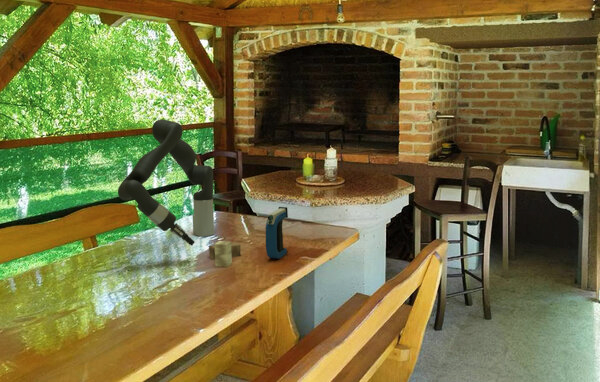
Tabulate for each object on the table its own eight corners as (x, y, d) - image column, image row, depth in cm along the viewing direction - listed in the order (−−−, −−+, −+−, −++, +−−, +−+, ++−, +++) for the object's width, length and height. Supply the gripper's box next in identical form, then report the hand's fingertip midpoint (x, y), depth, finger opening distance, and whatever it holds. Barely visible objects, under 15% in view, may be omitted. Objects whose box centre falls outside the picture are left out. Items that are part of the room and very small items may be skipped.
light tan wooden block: (212, 248, 256) (240, 244, 261) (209, 245, 261) (236, 242, 266) (213, 260, 257) (240, 256, 262) (209, 257, 261) (236, 253, 267)
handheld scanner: (289, 251, 267) (288, 206, 264) (276, 262, 252) (274, 214, 249) (279, 251, 269) (278, 206, 265) (265, 261, 254) (263, 214, 250)
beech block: (215, 266, 248) (214, 244, 247) (220, 262, 253) (219, 241, 251) (227, 266, 247) (226, 244, 245) (231, 263, 252) (231, 241, 250)
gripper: (171, 212, 242) (203, 239, 249) (163, 207, 254) (194, 233, 261) (158, 227, 241) (191, 254, 248) (151, 221, 253) (182, 247, 260)
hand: (192, 243), depth 255 cm, fingers closed
